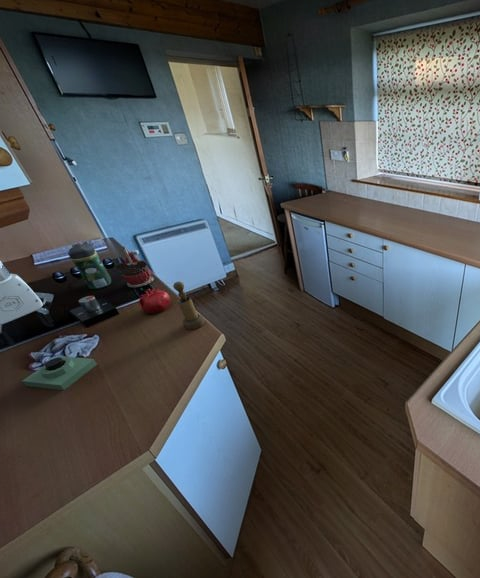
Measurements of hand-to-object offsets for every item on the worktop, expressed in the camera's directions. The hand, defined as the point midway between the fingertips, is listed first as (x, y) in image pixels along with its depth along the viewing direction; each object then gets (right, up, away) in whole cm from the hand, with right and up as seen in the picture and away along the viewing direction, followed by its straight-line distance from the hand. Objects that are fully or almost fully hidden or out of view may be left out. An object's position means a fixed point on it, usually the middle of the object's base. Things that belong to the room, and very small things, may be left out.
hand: (30, 333), depth 79 cm
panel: (-15, +2, +33) cm, 36 cm away
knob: (-15, +5, +31) cm, 35 cm away
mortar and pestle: (+25, -1, +29) cm, 39 cm away
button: (0, -10, +6) cm, 12 cm away
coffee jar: (-32, +14, +52) cm, 63 cm away
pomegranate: (+5, +4, +38) cm, 38 cm away
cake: (-15, +14, +54) cm, 58 cm away
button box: (0, -14, +8) cm, 16 cm away
